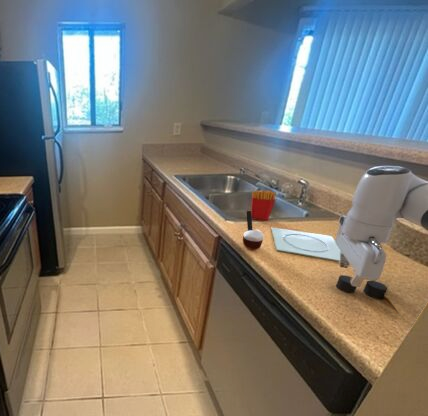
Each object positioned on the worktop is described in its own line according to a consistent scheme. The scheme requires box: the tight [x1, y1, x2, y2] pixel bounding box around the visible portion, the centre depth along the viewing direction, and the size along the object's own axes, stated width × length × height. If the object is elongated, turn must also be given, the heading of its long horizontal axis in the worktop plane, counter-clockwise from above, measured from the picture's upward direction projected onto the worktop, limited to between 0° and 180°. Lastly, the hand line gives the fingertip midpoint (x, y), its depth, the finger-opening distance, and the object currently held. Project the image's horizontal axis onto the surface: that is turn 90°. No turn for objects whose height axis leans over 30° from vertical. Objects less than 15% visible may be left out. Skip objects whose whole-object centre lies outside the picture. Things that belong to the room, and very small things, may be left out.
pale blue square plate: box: [270, 226, 341, 263], centre depth 100 cm, size 20×20×1 cm
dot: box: [363, 280, 388, 300], centre depth 73 cm, size 4×4×3 cm
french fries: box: [250, 189, 277, 221], centre depth 120 cm, size 9×4×13 cm, turn 72°
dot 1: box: [335, 274, 357, 294], centre depth 76 cm, size 4×4×3 cm
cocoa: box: [242, 210, 265, 250], centre depth 97 cm, size 10×6×12 cm, turn 159°
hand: (348, 275), depth 75 cm, fingers open, 8 cm apart
